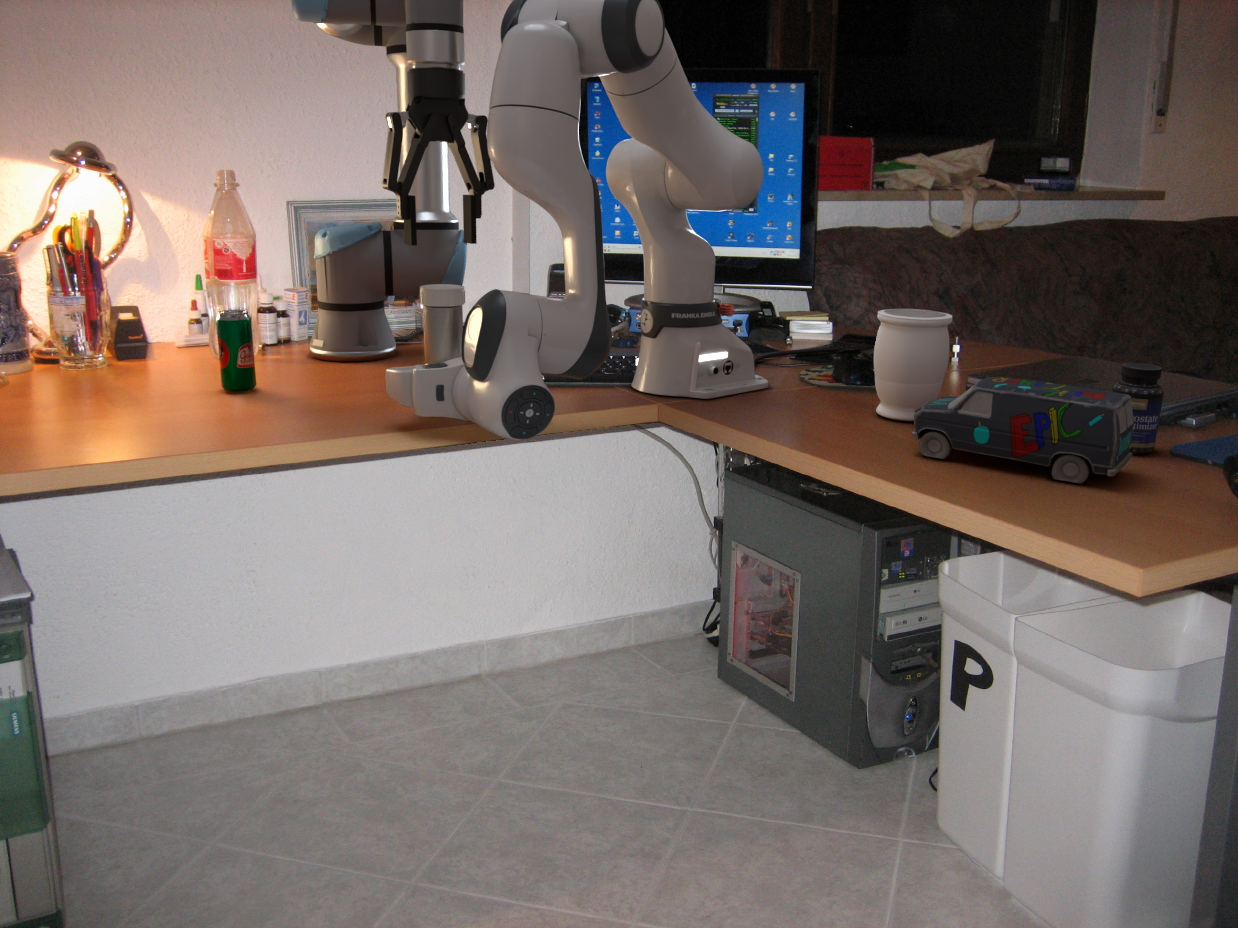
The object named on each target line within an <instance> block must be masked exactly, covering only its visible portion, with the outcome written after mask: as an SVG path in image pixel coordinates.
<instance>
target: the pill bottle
mask: <svg viewBox="0 0 1238 928" xmlns="http://www.w3.org/2000/svg"><path fill="white" fill-rule="evenodd" d="M1162 371H1163V367H1161V366H1158V365H1155V364H1149V363H1142V362H1141V363H1140V362H1126V363H1122V365H1121V369H1120V375H1121V380H1119V381H1116V382H1115V383H1114V384H1113V385H1112V388H1111V392H1115V393H1121V394H1127V395H1129V396H1131V401H1132V410H1133V418H1134V426H1135V427H1134V430H1133V436H1132V441H1131V448H1130V451H1129V452H1131V453H1133V454H1140V455H1141V454H1148V453H1151V452H1153V451H1154V450H1155V448H1156V440H1157V435H1158V428H1159V424H1160V419H1161V418H1160V417H1161V412H1162V407H1163V399H1164V395H1165V391H1164V389H1163V387H1162V386H1161V385H1159V383H1158V381H1159V380H1160V379H1161V377H1162Z"/></svg>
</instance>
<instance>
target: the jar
mask: <svg viewBox="0 0 1238 928" xmlns="http://www.w3.org/2000/svg"><path fill="white" fill-rule="evenodd" d="M877 319H878V321H880V325H879V327H878V329H877V332H876V333H877V336H876V341H875V345H874V346H873V372H874V384H875V385H874V386H875V391H876V395H877V398H878V399H879V401H880V402H879V404H877V405H878V406H877V407H876V409H875V412H876V413H877V415H879V416H881V417H884V418H887V419H889V420H890V419H891V420H896V421H903V422H914V414H915V410H916V409H918V408H919V407H921V406H923V405H924V404H926V403H929V402H931V401H934V400H936V399H939V396H940V393H941V391H942V388H943V384H944V378H945V377H946V376H945V375H946V373H947V369H948V364H949V360H950V359H949V357H950V334H949V327H948V326H949V325H951V324H952V323H953V315H952V314H950V313H947V312H943V311H936V310H929V309H918V308H888V309H880V310H878V311H877Z"/></svg>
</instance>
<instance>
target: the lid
mask: <svg viewBox="0 0 1238 928" xmlns="http://www.w3.org/2000/svg"><path fill="white" fill-rule="evenodd" d="M419 303H420V305H422V306H423V305H425V306H435V307H450V306H460V305H462V306H463V305H465V304H466V290H465V286H464V285H462V286H461V285H453V284H432V285H423V286H420V296H419Z"/></svg>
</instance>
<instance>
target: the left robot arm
mask: <svg viewBox="0 0 1238 928" xmlns="http://www.w3.org/2000/svg"><path fill="white" fill-rule="evenodd" d="M290 1H291V8H292V10H291V11H292V15H293V17H294V19H296V20H297V21H299V22H305V23H313V24H316V26H318V28H319V29H320V30H322V31H323V32H324V33H326V34H328V36H329V35H330V36H331V37H334V38H337V39H340V40H343V41H346V42H348V43H354V44H357V45H362V46H370V47H385V50H386V53H385V54H386V59H387V60H388V61H389V62H390V64H392V66H393V67H394V68H395V71H396V72H395V74H396V75H395V77H396V101H397V102H396V103H397V104H396V105H397V111H394V112H393V111H391V112H386V114H385V123H386V128H387V138H386V145H385V153H384V154H385V155H384V163H383V170H382V177H381V178H382V180H381V187H382V189H383V190H387V191H389V192H392V193H394V195H395V198H396V216H395V217H394V218H393V219H392V225H393V229H391V230H387V229H386V230H385V229H384V230H383V227H382V225H381V223H380V222H378V221H368V222H358V223H357V222H355V223H348V224H341V225H335V226H330V227H326V228H322V229H319V231H317V232H316V234H315V235H314V255H313V259H314V260H315V275H316V276H315V278H316V297H317V310H318V311H317V316H316V321H315V323H314V327H313V331H312V335H311V338H310V342H309V355H310V356H311V357H312V358H314V359H317V360H323V361H331V362H366V361H376V360H382V359H387V358H390V357H394V356H395V355H396V354H397V343H396V342H407V341H410V340H412V339H413V338H414V337H415V336H418V335H421V334H424V330H420V329H421V328H419V329H418V328H417V329H415V330H413V331H411V332H410V333H409V334H407V335H402V336H394V333H393V331H392V329H391V325H390V323H389V320H388V317H387V314H386V311H385V297H420V286H423V285H432V284H453V285H461V286H464V281H465V280H464V279H465V274H466V267H467V258H468V244H471V245H476V244H478V243H477V219H482V215H483V208H482V207H483V205H482V204H483V203H482V202H483V200H482V197H483V195H484V194H485V193H486V192H488V191H493V190H494V188H495V185H496V184H495V179H494V172H493V166H492V162H491V160H490V157H489V154H488V148H487V126H488V116H487V115H484V114H482V115H480V114H479V115H477V114H472V113H469V111H468V109H467V107H466V73H465V72H464V70H461V68H462V67H464V66H465V65H466V54H465V30H464V29H465V28H464V0H290ZM466 123H467V128H468V129H469V131H470V138H471V145H472V149H473V150H472V151H473V156H474V161H475V167H474V164H473V161H472V159H471V156H470V154H469V152H468V149H467V146H466V141H465V138H464V136H463V134H462V130H463V128H464V126H465V125H466ZM449 149H450V151H451V153H452V156H453V158H454V161H455V163H456V166H457V169H458V170H459V172H460V175H461V178H462V180H463V182H464V185H465V187H466V190H467V192H468V194H462V217H463V218H462V219H463V221H462V223H463V224H462V225H463V227H462V228H463V229H460V221H459V219H458V218H457V217H456V215H454V214H453V213H452V211H451V201H450V199H451V198H450V197H451V195H450V167H449V165H450V164H449V163H450V162H449ZM475 168H476V169H475ZM463 327H464V325H463ZM415 331H416V332H415ZM413 332H414V333H413Z"/></svg>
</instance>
